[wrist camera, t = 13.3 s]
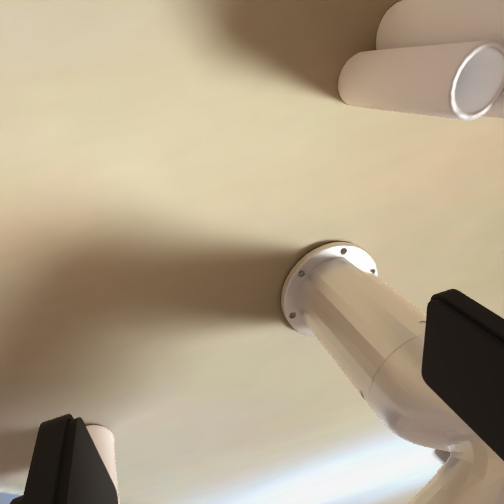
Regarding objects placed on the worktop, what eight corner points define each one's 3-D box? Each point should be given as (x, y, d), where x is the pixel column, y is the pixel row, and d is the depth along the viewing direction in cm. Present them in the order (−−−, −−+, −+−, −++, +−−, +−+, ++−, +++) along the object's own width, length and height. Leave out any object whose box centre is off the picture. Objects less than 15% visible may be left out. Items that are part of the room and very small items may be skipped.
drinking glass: (130, 443, 46) (137, 586, 33) (75, 469, 45) (60, 627, 32) (104, 408, 43) (101, 552, 30) (45, 435, 42) (15, 597, 29)
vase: (409, -20, 34) (708, -114, 17) (446, 41, 38) (724, 13, 21) (328, 84, 36) (528, 95, 19) (371, 133, 39) (571, 180, 22)
